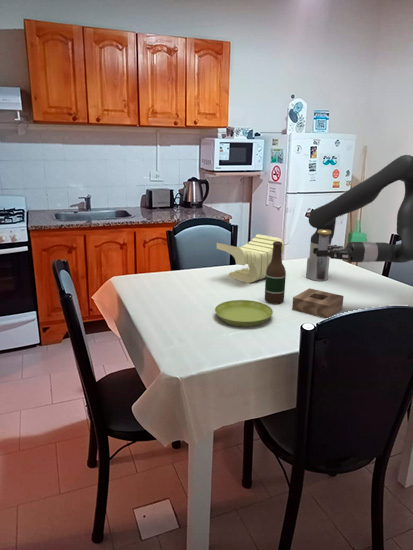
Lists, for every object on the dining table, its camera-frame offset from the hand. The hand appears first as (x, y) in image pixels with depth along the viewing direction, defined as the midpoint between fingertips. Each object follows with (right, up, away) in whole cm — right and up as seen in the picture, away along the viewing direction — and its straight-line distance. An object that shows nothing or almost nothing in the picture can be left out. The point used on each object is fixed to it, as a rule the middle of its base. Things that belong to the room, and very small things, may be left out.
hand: (315, 252), depth 151 cm
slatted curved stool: (-19, -10, +45) cm, 50 cm away
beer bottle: (-13, -19, +14) cm, 27 cm away
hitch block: (+3, -21, +6) cm, 22 cm away
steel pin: (+3, -10, +3) cm, 10 cm away
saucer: (-26, -24, -2) cm, 36 cm away
